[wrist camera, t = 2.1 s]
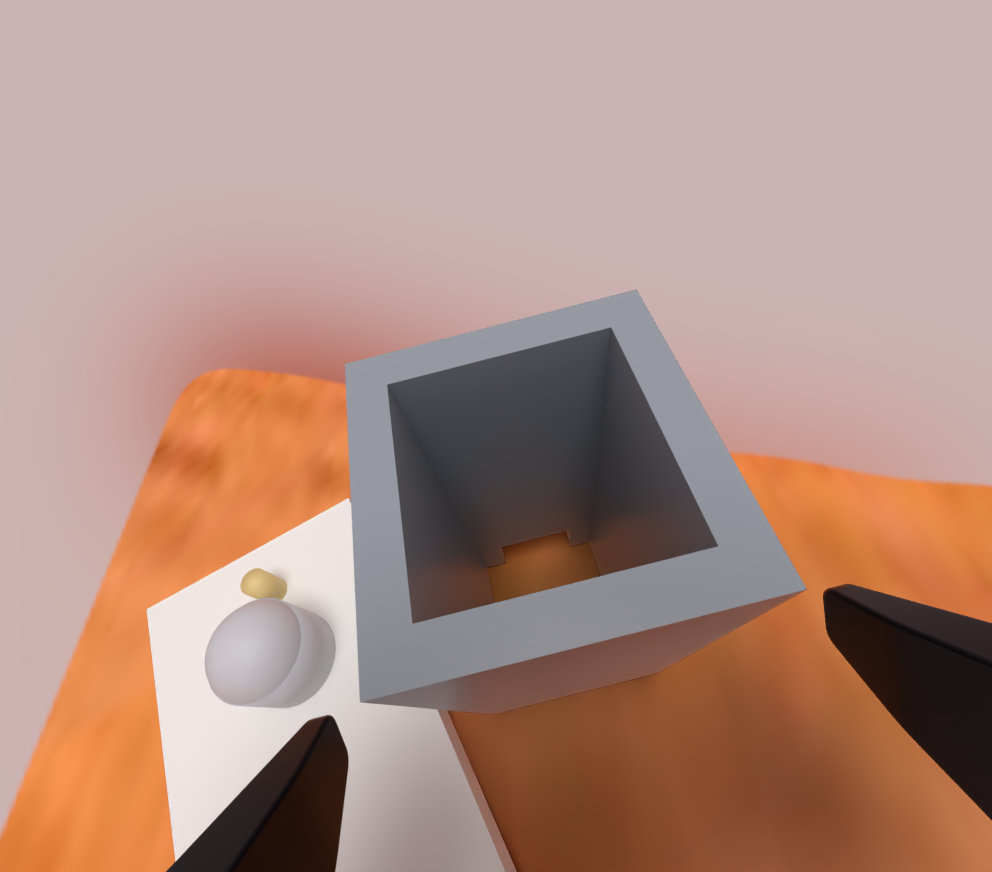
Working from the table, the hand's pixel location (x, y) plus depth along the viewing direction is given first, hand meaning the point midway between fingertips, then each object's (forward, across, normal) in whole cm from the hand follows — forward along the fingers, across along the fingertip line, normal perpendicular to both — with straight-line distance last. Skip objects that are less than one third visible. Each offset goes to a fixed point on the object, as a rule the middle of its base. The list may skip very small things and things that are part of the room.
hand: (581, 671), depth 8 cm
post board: (+6, +9, +7) cm, 13 cm away
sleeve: (+9, 0, +5) cm, 10 cm away
